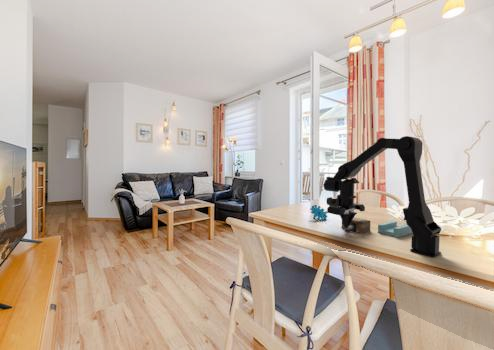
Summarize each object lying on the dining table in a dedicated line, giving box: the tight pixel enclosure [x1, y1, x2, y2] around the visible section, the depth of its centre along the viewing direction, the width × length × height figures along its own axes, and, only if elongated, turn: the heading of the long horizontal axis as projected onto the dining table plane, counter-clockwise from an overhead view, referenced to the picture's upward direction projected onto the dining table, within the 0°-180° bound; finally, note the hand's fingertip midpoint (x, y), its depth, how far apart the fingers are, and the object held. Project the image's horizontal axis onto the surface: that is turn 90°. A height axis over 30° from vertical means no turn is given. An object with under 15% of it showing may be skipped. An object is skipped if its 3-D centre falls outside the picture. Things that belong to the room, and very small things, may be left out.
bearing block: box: [341, 216, 371, 234], centre depth 103 cm, size 10×6×5 cm, turn 30°
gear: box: [310, 204, 328, 222], centre depth 123 cm, size 11×6×10 cm
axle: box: [343, 222, 356, 232], centre depth 103 cm, size 12×3×3 cm, turn 120°
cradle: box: [377, 220, 413, 238], centre depth 98 cm, size 8×12×4 cm, turn 120°
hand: (345, 227), depth 99 cm, fingers closed
